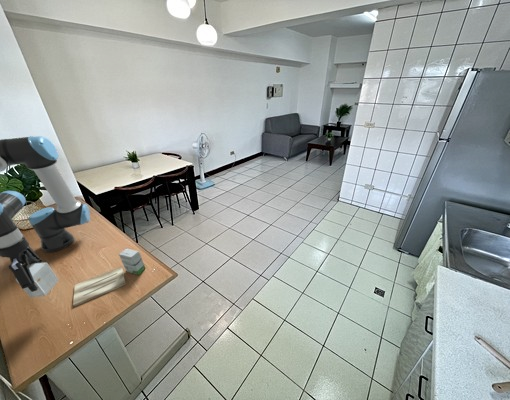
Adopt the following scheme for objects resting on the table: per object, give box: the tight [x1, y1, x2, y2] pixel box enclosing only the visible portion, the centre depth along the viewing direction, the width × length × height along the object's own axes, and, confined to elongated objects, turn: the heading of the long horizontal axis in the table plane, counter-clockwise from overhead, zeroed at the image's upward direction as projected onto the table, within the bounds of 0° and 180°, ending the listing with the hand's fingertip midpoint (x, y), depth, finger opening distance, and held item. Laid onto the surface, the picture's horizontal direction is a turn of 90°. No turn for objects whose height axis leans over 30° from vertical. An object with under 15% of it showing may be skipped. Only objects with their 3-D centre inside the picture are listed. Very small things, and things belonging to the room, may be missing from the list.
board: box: [72, 266, 126, 308], centre depth 102 cm, size 13×20×1 cm, turn 124°
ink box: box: [118, 248, 146, 276], centre depth 107 cm, size 9×5×12 cm, turn 71°
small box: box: [15, 262, 60, 298], centre depth 84 cm, size 8×6×10 cm
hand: (42, 285), depth 85 cm, fingers closed on small box, 9 cm apart
